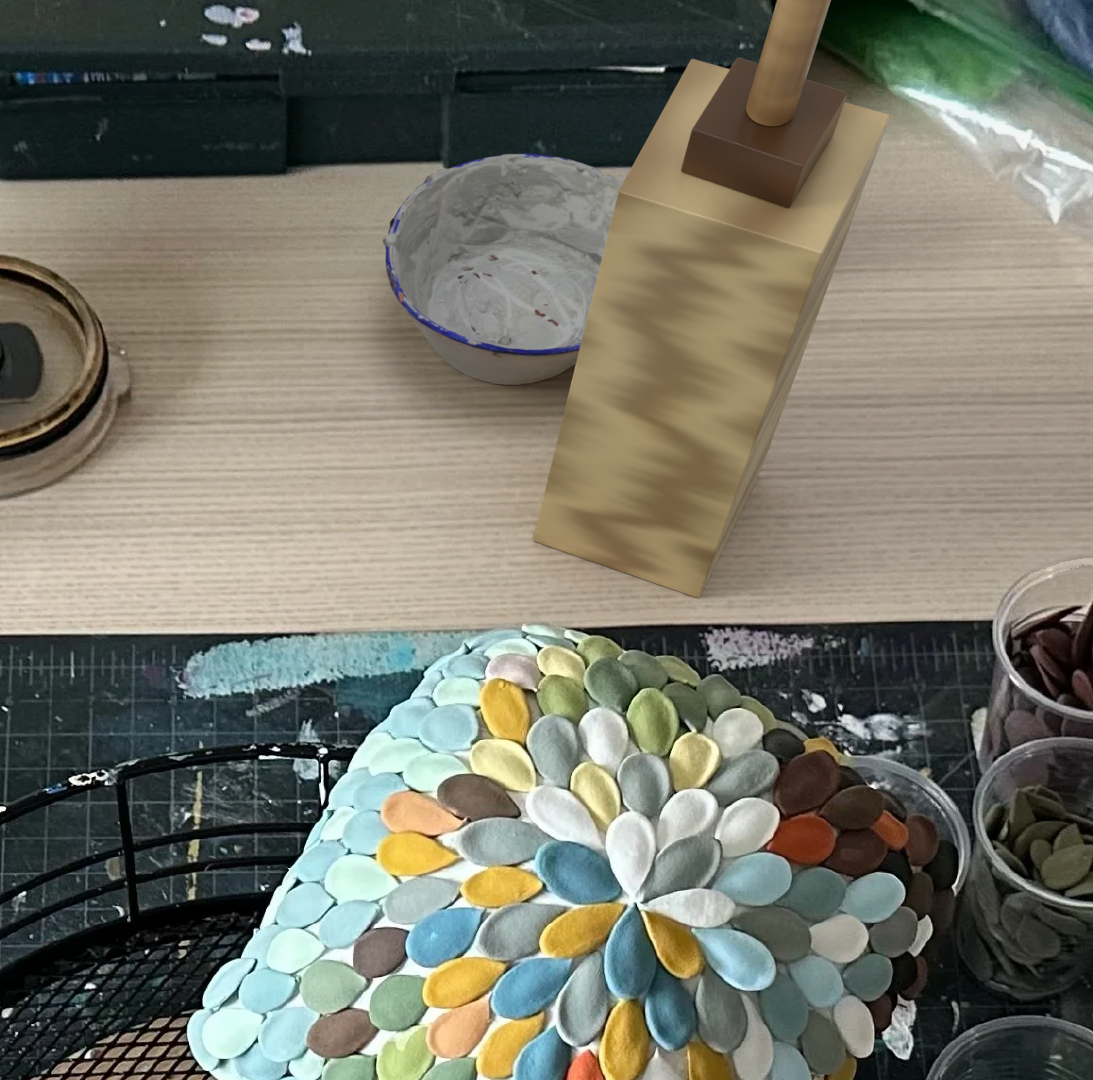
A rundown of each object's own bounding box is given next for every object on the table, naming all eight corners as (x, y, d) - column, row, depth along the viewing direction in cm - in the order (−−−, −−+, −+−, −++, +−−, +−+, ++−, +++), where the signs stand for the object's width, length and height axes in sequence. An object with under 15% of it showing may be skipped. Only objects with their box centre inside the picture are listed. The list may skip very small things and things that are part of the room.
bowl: (407, 443, 108) (419, 367, 104) (350, 250, 114) (359, 171, 110) (676, 402, 108) (699, 325, 104) (606, 211, 114) (625, 130, 110)
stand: (759, 474, 106) (891, 114, 88) (699, 599, 103) (822, 253, 85) (595, 420, 108) (691, 57, 90) (532, 541, 105) (618, 191, 87)
